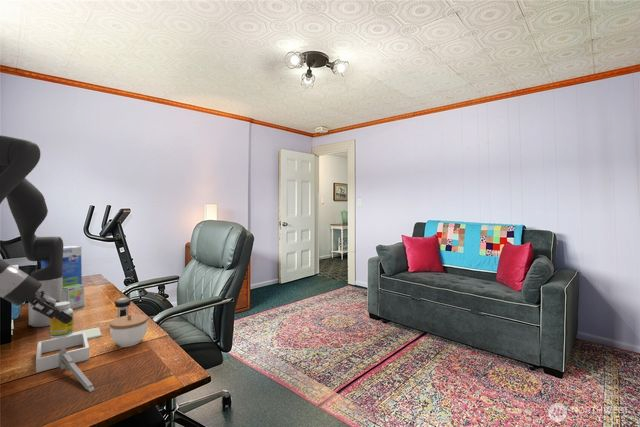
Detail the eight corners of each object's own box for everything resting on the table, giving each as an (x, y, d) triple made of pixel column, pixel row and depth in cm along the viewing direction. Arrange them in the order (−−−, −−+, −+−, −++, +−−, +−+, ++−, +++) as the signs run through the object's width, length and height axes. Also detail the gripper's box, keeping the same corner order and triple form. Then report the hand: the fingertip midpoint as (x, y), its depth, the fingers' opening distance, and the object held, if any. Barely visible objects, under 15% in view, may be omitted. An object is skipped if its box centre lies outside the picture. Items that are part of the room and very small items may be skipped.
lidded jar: (108, 342, 104) (107, 314, 103) (144, 333, 110) (144, 307, 110) (112, 353, 95) (111, 323, 95) (151, 344, 102) (151, 315, 102)
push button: (110, 329, 114) (110, 302, 114) (110, 325, 118) (110, 298, 118) (131, 325, 118) (131, 299, 117) (130, 321, 122) (130, 296, 122)
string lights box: (74, 297, 153) (73, 245, 153) (82, 299, 150) (82, 246, 149) (40, 305, 141) (40, 248, 141) (49, 307, 138) (48, 249, 137)
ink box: (68, 311, 134) (67, 280, 133) (61, 310, 135) (61, 279, 135) (84, 306, 140) (84, 276, 140) (78, 305, 141) (78, 276, 141)
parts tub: (36, 372, 84) (35, 359, 84) (38, 353, 95) (38, 341, 95) (89, 359, 92) (89, 347, 92) (85, 342, 103) (85, 332, 103)
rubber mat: (68, 343, 102) (68, 342, 102) (67, 334, 109) (67, 333, 109) (101, 336, 108) (101, 334, 108) (98, 328, 115) (98, 327, 115)
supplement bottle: (53, 333, 95) (53, 301, 94) (75, 330, 97) (75, 299, 97) (47, 340, 90) (47, 307, 90) (70, 336, 92) (70, 304, 92)
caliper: (58, 369, 87) (58, 346, 87) (63, 367, 88) (62, 345, 88) (90, 393, 76) (89, 367, 75) (95, 391, 77) (94, 365, 76)
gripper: (25, 279, 83) (82, 314, 91) (28, 270, 94) (79, 301, 102) (-3, 302, 79) (58, 336, 87) (4, 290, 90) (58, 321, 98)
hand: (69, 318), depth 95 cm, fingers closed on supplement bottle, 5 cm apart
